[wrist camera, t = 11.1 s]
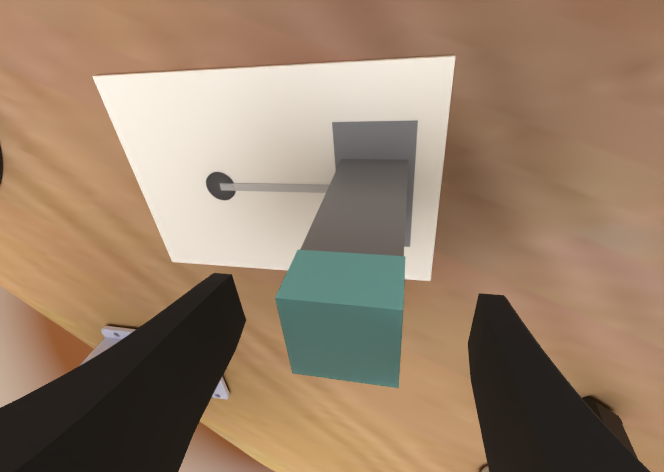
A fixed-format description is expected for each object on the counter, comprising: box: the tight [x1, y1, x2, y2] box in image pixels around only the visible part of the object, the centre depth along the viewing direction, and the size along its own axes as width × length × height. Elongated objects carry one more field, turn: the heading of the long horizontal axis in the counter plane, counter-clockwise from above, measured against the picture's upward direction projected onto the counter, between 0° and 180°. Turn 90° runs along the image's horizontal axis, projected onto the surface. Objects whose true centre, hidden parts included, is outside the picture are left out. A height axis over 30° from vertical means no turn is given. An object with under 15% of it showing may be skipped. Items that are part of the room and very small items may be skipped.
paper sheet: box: [92, 55, 455, 281], centre depth 17 cm, size 16×11×1 cm
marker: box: [275, 159, 409, 388], centre depth 13 cm, size 3×3×9 cm
